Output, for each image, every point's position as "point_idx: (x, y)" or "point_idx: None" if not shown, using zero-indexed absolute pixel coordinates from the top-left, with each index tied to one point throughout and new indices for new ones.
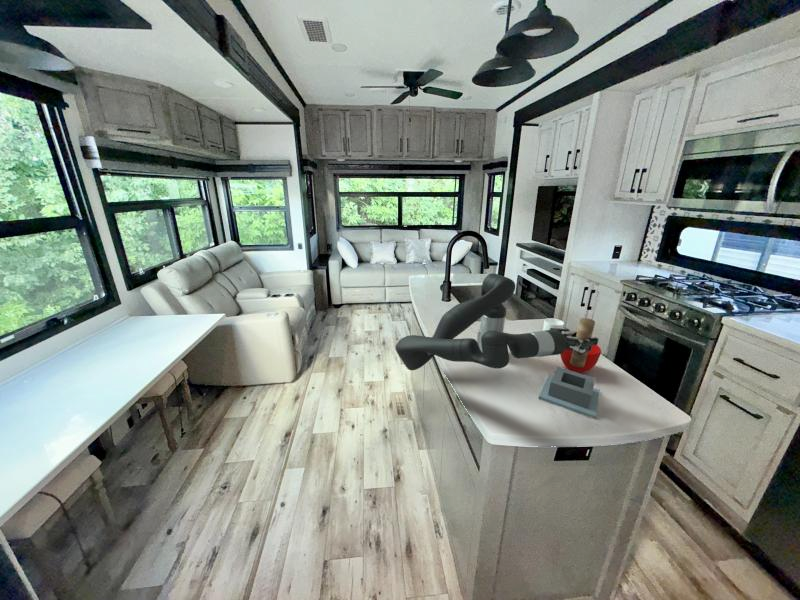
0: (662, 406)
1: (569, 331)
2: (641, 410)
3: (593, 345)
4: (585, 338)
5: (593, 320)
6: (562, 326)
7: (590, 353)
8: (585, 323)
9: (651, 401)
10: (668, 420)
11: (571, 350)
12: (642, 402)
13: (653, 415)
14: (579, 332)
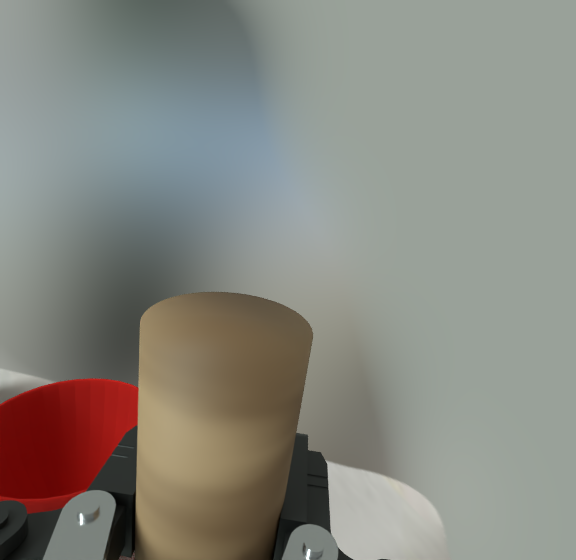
0: (361, 478)
1: (32, 522)
2: (372, 555)
3: (110, 388)
4: (270, 531)
5: (254, 296)
6: None
7: (107, 423)
8: (265, 377)
9: (336, 481)
10: (424, 527)
11: (45, 502)
12: (335, 508)
13: (400, 545)
14: (196, 512)
